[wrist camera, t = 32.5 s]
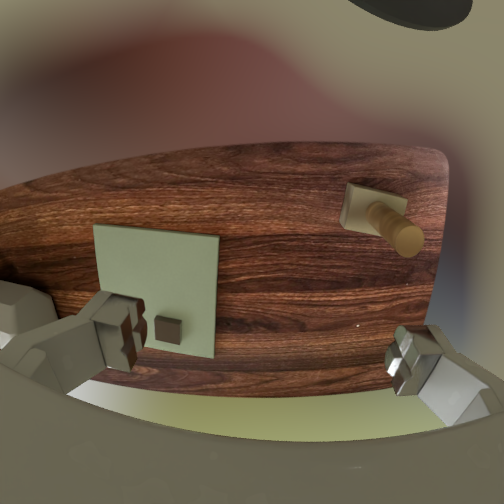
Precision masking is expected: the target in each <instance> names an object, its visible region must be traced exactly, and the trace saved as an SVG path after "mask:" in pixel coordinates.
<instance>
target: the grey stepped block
mask: <svg viewBox="0 0 504 504" xmlns="http://www.w3.org/2000/svg"><path fill="white" fill-rule="evenodd" d="M57 320H58V317H57V314H56V310H55V307H54V304H53V301H52V297H51V296H50V295H48V294H46V293H43V292H41V291H39V290H37V289H34V288H32V287H28V286H24V285H19V284H15V283H10V282H6V281H2V280H0V348H1V349H3V348H4V346H5V345H6V344H7V343H8V342H9V341H10V340H11V339H12V338H13V337H14V336H17V335H20V334H22V333H25V332H28V331H30V330H33V329H36V328H38V327H41V326H44V325H46V324H49V323H52V322H54V321H57Z"/></svg>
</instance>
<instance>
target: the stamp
mask: <svg viewBox="0 0 504 504" xmlns="http://www.w3.org/2000/svg"><path fill="white" fill-rule="evenodd" d="M407 201H408V199H406V198H404V197H402V196H400V195H398V194H395V193H391V192H387V191H383V190H379V189H375V188H371V187H367V186H363V185H358V184H354V183H349V182H348V183H347V188H346V193H345V197H344V202H343V206H342V211H341V215H340V219H339V222H340V223H341V225H342V226H343V227H344V229H347V230H353V231H358V232H363V233H368V234H374V235H379V236H382V237H383V238H384V239H385V240H386V241H387V242H388V243H389V244H390V245H391V246H392V247H393V248H394V249H395V250H396V251H397V252H398V253H399V254H400V255H401V256H403V257H412V256H415V255H416V254H417V253H418V252H419V251H420V250H421V249H422V247H423V244H424V234H423V231H422V230H421V229H420V228H419V227H418V226H416V225H415V224H414V223H412V222H411V221H410V220H408V219H407V218H405V217H404V213H405V209H406V205H407Z"/></svg>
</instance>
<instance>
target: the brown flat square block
mask: <svg viewBox="0 0 504 504" xmlns="http://www.w3.org/2000/svg"><path fill="white" fill-rule="evenodd" d="M154 332H155V340H158V341H162V342H167V343H171V344H176V345H180V343H181V341H182V320H178V319H173V318H168V317H163V316H158V315H156V316H155V318H154Z"/></svg>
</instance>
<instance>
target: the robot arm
mask: <svg viewBox="0 0 504 504" xmlns="http://www.w3.org/2000/svg"><path fill="white" fill-rule="evenodd" d="M144 312H145V303H144V300H143V299H142V298H138V297H133V296H128V295H123V294H119V293H113V292H109V291H104V290H101V291H98V292H97V293H96V294H95V295H94V297H93V298H92V299H91V300H90V301H89V302H88V303H87V304H86V305H85V306H84V307H83V308H82V310H81V311H80V312H79V313H78V314H77V315H76V316H74V315H70V316H68V317H65V318H62V319H60V320H57V321H54V322H52V323H49V324H46V325H44V326H41V327H38V328H36V329H33V330H30V331H28V332H25V333H22V334H20V335H17V336H14V337H13V338H12V339H11V340H10V341H9V342H8V343H7V344H6V345H5V346H4V348H3V349H2V350H1V351H0V504H504V381H503V380H501V379H500V378H498V377H497V376H495V375H494V374H492V373H491V372H489V371H488V370H486V369H484V368H483V367H481V366H480V365H478V364H477V363H475V362H473V361H472V360H470V359H469V358H467V357H466V356H464V355H462V354H461V353H456V351H455V349H454V348H453V347H452V345H451V344H450V342H449V341H448V339H447V338H446V336H445V335H444V333H443V332H442V331H441V329H440V328H439V327H438V326H437V325H399V326H398V327H397V329H396V330H395V333H394V335H393V336H394V339H395V341H394V342H393V343H391V344H390V345H389V346H388V349H387V351H386V353H385V368H386V370H387V373H389V374H390V375H391V376H392V377H393V378H392V381H391V383H392V386H393V388H394V391H395V394H396V396H408V395H417V396H418V397H419V398H420V399H421V400H422V401H423V402H424V403H425V404H426V405H427V406H428V407H429V408H430V409H431V410H432V411H433V412H434V413H435V414H436V415H437V416H438V417H439V418H440V419H441V420H442V421H443V422H444V423H445V424H446V425H447V426H448V427H444V428H440V429H435V430H430V431H425V432H420V433H413V434H407V435H401V436H394V437H386V438H376V439H366V440H353V441H334V442H292V441H291V442H290V441H270V440H256V439H246V438H237V437H228V436H221V435H214V434H207V433H201V432H195V431H190V430H184V429H180V428H175V427H170V426H165V425H161V424H157V423H153V422H149V421H145V420H141V419H137V418H134V417H130V416H126V415H123V414H120V413H117V412H113V411H110V410H107V409H104V408H101V407H98V406H95V405H93V404H90V403H87V402H84V401H82V400H79V399H76V398H73V397H71V396H69V395H66V394H67V393H69V392H70V391H71V390H73V389H75V388H76V387H78V386H79V385H81V384H82V383H84V382H86V381H87V380H89V379H90V378H92V377H93V376H95V375H96V374H98V373H99V372H101V371H102V370H104V369H106V367H109V368H113V369H117V370H121V371H125V372H131V370H132V368H133V366H134V364H135V362H136V360H137V353H136V352H138V351H140V350H142V349H143V347H144V345H145V343H146V338H147V330H148V327H147V321H146V320H145V319H144V317H143V316H142V315H143V313H144Z"/></svg>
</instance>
